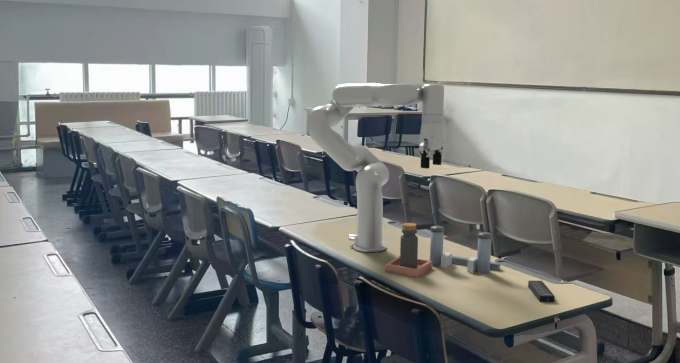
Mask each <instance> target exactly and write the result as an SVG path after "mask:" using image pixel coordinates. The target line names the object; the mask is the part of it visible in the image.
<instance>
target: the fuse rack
mask: <svg viewBox="0 0 680 363" xmlns="http://www.w3.org/2000/svg"><path fill="white" fill-rule="evenodd" d="M444 231H445V227H444V226H441V225H432V226H430V244H429V245H430V246H429V247H430V248H429V249H430V250H429V260H430V261H432V267H433V266H435V267H439V266H440V268H444V269H445V268H446V269H447V268H448V267H450V266H451V265H452V264H455V265H463V266H467V267H466V268H467V269H466V270H467V272H469V273H474V272H475V271H476V273H478V274H490V273H491V270H493V271H500V270H501V263H500V262H493V261H491V254H492V236H493V234H492V233H491V232H488V231H480V232H478V233H477V251H476V252H477V253H476V256H471V257H470V258H468V257H463V256H455V255H453V254H452V252H448V251H447V252H445V253H444Z"/></svg>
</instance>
